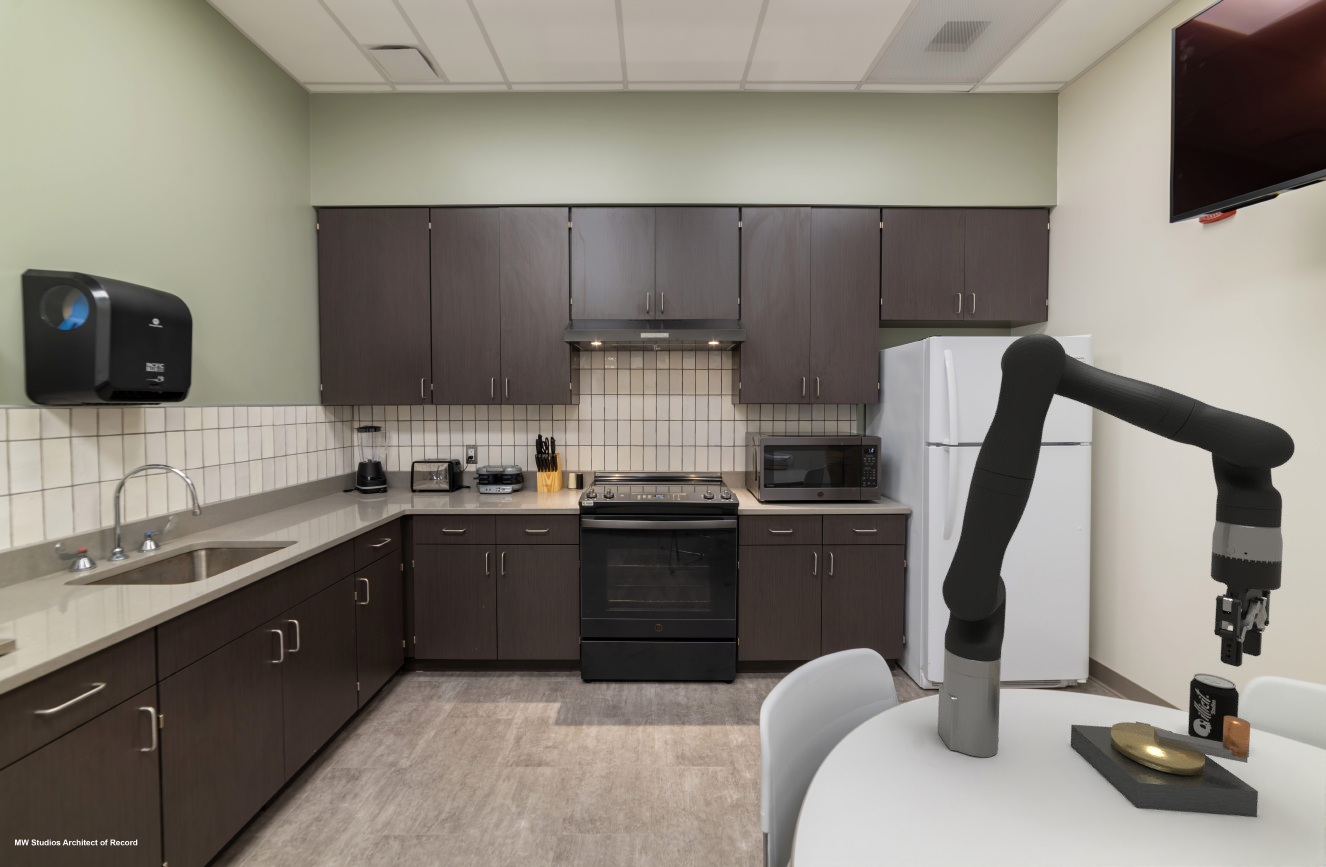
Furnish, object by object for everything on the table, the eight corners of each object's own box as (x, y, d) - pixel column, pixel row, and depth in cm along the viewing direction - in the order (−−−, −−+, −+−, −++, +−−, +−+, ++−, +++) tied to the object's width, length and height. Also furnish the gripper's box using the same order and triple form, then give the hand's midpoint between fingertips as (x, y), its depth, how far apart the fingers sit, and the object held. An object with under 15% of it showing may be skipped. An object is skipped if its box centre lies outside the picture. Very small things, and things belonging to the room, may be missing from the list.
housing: (1136, 807, 89) (1138, 781, 89) (1070, 745, 106) (1071, 723, 106) (1256, 816, 88) (1258, 789, 88) (1169, 752, 105) (1170, 729, 104)
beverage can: (1241, 757, 103) (1244, 691, 103) (1192, 745, 107) (1195, 682, 107) (1230, 740, 109) (1232, 677, 109) (1184, 729, 113) (1186, 669, 112)
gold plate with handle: (1121, 762, 94) (1123, 714, 94) (1101, 724, 106) (1102, 681, 105) (1266, 794, 86) (1269, 741, 86) (1227, 749, 98) (1229, 703, 98)
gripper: (1264, 564, 81) (1259, 679, 81) (1296, 553, 88) (1291, 659, 88) (1195, 552, 87) (1190, 659, 88) (1229, 543, 94) (1225, 642, 95)
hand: (1240, 659), depth 88 cm, fingers open, 7 cm apart
